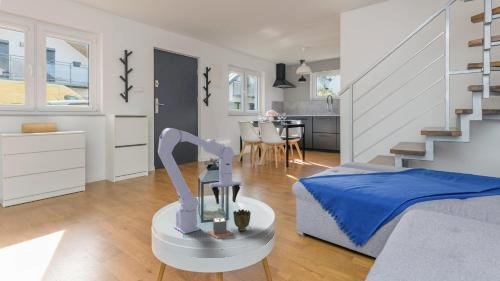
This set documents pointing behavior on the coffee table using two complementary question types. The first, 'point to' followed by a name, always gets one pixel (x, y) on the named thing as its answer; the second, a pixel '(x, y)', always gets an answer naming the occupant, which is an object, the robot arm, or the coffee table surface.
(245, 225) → the cup
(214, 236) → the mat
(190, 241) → the coffee table surface
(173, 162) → the robot arm
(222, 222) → the letter block
